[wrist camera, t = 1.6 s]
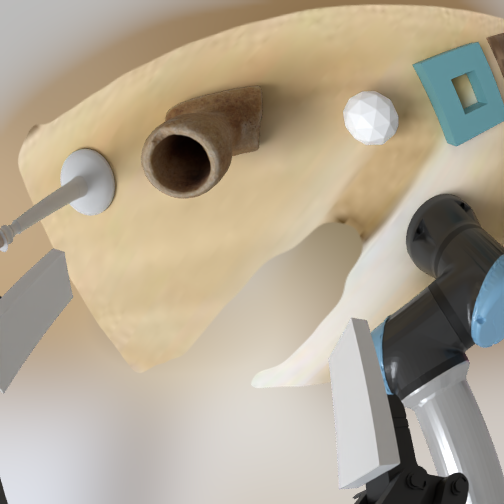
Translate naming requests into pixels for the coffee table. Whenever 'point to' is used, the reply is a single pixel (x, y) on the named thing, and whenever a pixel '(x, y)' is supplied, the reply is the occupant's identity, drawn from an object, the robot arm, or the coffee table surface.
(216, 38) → the coffee table surface
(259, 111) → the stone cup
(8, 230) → the candlestick
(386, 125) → the geometric ball
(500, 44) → the brown rectangular frame
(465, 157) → the coffee table surface
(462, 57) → the seat block
